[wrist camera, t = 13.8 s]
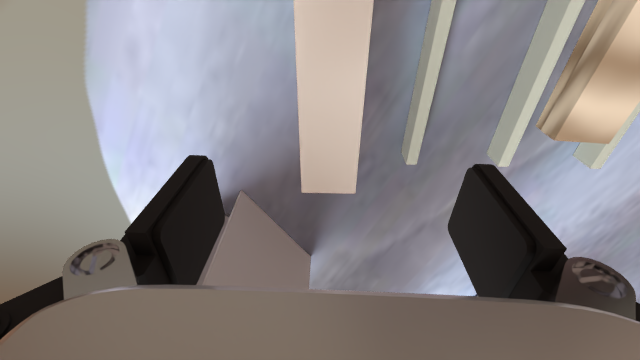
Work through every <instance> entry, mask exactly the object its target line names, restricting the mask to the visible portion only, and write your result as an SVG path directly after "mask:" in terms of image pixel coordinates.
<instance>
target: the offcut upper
mask: <svg viewBox="0 0 640 360" xmlns="http://www.w3.org/2000/svg"><path fill="white" fill-rule="evenodd" d="M639 102H640V0H613V1H612V3H611V5H610V6H609V8H608V10H607V12H606V14H605V15H604V17H603V19H602V21H601V23H600V24H599V26H598V28H597V30H596V32H595V33H594V35H593V37H592V39H591V41H590V42H589V44H588V46H587V48H586V50H585V51H584V53H583V55H582V57H581V59H580V60H579V62H578V64H577V66H576V68H575V69H574V71H573V73H572V75H571V77H570V78H569V80H568V82H567V84H566V86H565V87H564V89H563V91H562V93H561V95H560V96H559V98H558V100H557V102H556V104H555V105H554V107H553V109H552V111H551V113H550V114H549V116H548V118H547V120H546V122H545V123H544V125H543V127H542V129H541V131H542V132H543V133H545V134H546V135H548V136H549V137H550V138H552V139H553V140H557V141H572V142H587V143H601V144H609V143H610V142H611V140H612V139H613V138H614V136H615V135H616V133H617V132H618V131H619V129H620V128H621V127H622V125H623V124H624V122H625V121H626V120H627V118H628V117H629V116H630V114H631V113H632V111H633V110H634V109H635V107H636V106H637V105H638V103H639Z"/></svg>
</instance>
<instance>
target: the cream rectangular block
mask: <svg viewBox="0 0 640 360" xmlns="http://www.w3.org/2000/svg"><path fill="white" fill-rule="evenodd" d="M373 2H374V0H294V21H295V46H296V70H297V94H298V118H299V142H300V166H301V191H302V193H343V194H355V191H356V180H357V170H358V159H359V149H360V138H361V128H362V117H363V107H364V96H365V86H366V75H367V65H368V54H369V44H370V33H371V23H372V12H373Z"/></svg>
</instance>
